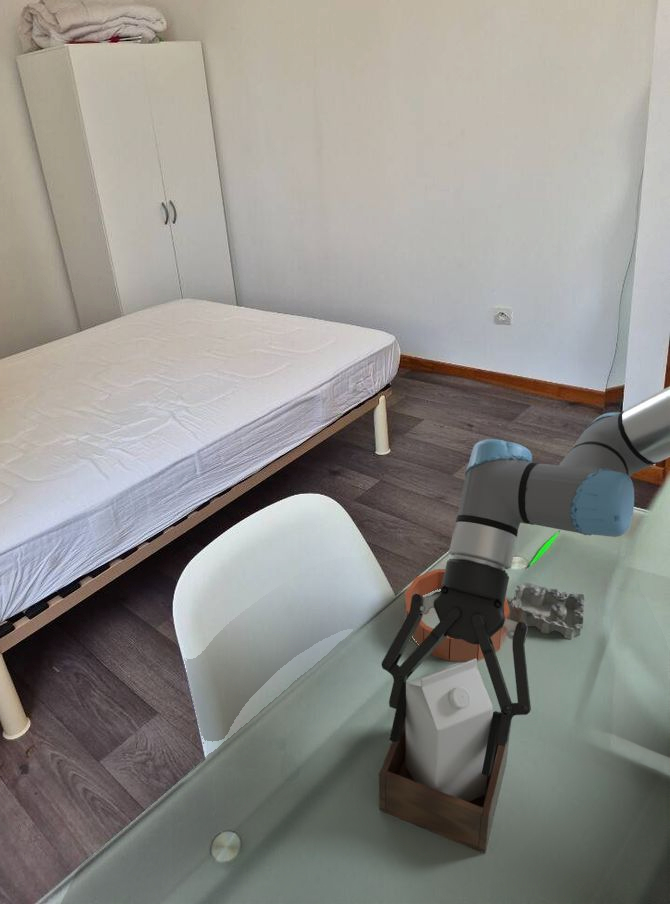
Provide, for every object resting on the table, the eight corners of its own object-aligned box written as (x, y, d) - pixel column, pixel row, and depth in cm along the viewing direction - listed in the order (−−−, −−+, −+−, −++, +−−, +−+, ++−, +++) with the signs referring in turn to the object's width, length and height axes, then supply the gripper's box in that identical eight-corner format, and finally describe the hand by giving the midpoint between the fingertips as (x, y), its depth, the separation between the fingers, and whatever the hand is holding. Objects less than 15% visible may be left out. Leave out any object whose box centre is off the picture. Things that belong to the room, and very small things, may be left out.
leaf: (562, 532, 128) (563, 529, 128) (529, 571, 119) (529, 568, 119) (557, 530, 129) (558, 527, 128) (524, 569, 120) (524, 565, 119)
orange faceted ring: (519, 609, 111) (521, 588, 109) (486, 676, 99) (488, 653, 97) (428, 578, 119) (429, 557, 117) (388, 637, 107) (388, 615, 105)
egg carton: (507, 626, 108) (509, 605, 106) (515, 595, 114) (517, 575, 112) (580, 644, 104) (583, 624, 102) (584, 611, 110) (587, 591, 108)
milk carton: (405, 767, 87) (405, 657, 78) (453, 747, 89) (459, 637, 80) (434, 818, 81) (438, 704, 72) (486, 795, 83) (495, 682, 74)
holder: (506, 760, 87) (510, 724, 84) (485, 853, 77) (488, 816, 74) (411, 727, 93) (411, 692, 90) (379, 810, 83) (378, 773, 80)
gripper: (576, 591, 83) (543, 789, 77) (397, 547, 92) (356, 721, 87) (576, 584, 76) (540, 799, 71) (384, 538, 86) (339, 725, 80)
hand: (439, 756), depth 79 cm, fingers closed on milk carton, 10 cm apart
